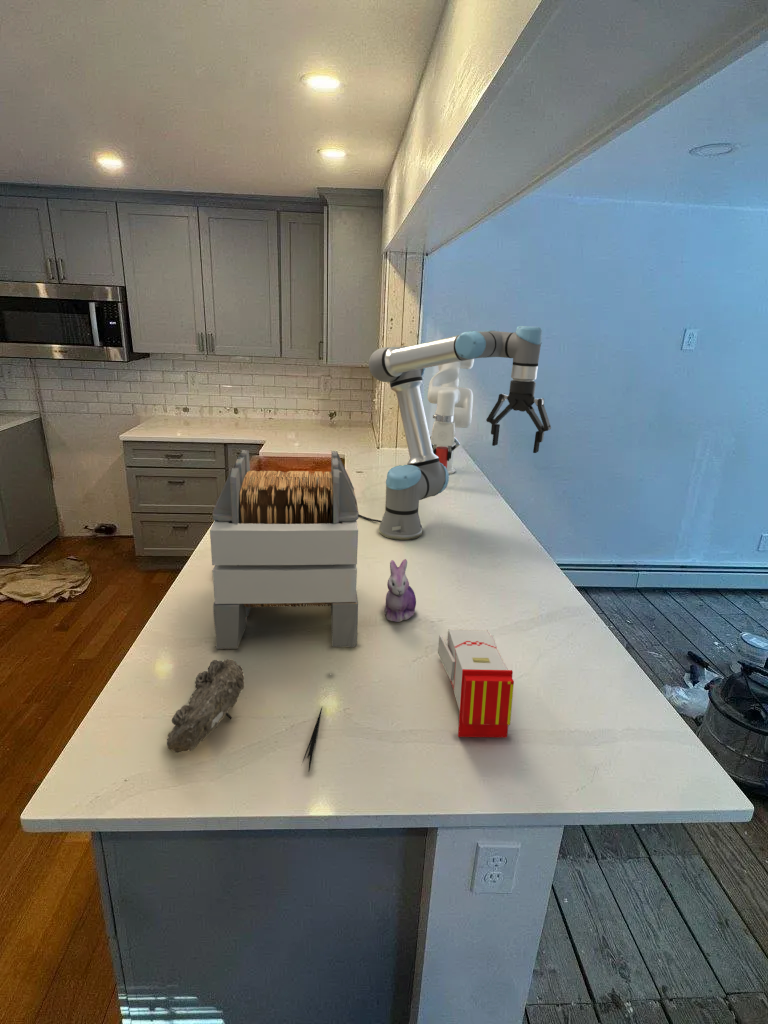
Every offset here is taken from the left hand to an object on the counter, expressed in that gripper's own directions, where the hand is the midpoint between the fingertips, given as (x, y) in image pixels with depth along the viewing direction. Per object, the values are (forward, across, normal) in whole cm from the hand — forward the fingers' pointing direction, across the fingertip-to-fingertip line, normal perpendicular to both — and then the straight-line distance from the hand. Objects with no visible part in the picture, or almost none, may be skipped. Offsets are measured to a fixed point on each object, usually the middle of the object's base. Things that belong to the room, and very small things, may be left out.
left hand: (514, 448), depth 179 cm
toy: (+35, -24, +75) cm, 86 cm away
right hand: (+22, +51, -49) cm, 74 cm away
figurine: (+35, +4, +58) cm, 67 cm away
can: (+27, +51, -49) cm, 76 cm away
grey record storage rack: (+35, +27, +74) cm, 86 cm away
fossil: (+35, +12, +112) cm, 118 cm away
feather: (+35, -5, +101) cm, 107 cm away
